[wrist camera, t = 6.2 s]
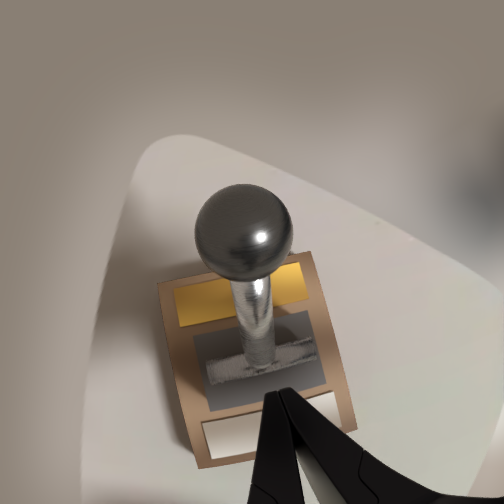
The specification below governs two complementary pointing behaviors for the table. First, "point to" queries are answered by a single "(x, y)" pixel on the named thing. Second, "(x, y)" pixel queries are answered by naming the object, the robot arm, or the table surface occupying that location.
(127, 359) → the table surface
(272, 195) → the lever
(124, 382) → the table surface
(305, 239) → the table surface
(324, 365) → the switch unit
